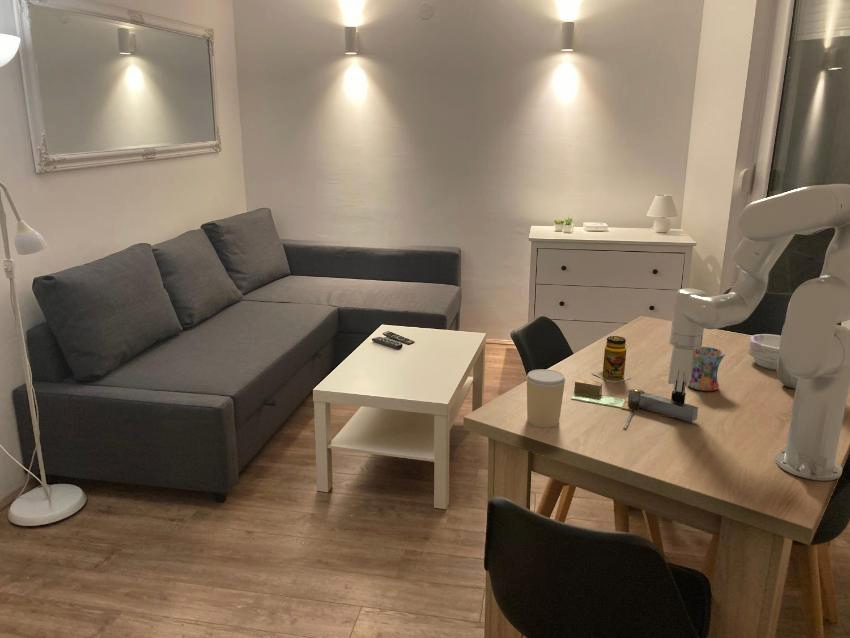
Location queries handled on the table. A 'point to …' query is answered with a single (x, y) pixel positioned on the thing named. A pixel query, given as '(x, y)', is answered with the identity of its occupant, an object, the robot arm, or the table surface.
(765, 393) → the table surface
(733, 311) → the robot arm
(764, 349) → the paper bowls
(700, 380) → the mug
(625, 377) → the condiment
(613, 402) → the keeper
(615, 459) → the table surface
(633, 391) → the swing bar
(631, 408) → the plate
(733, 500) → the table surface
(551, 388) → the coffee cup
